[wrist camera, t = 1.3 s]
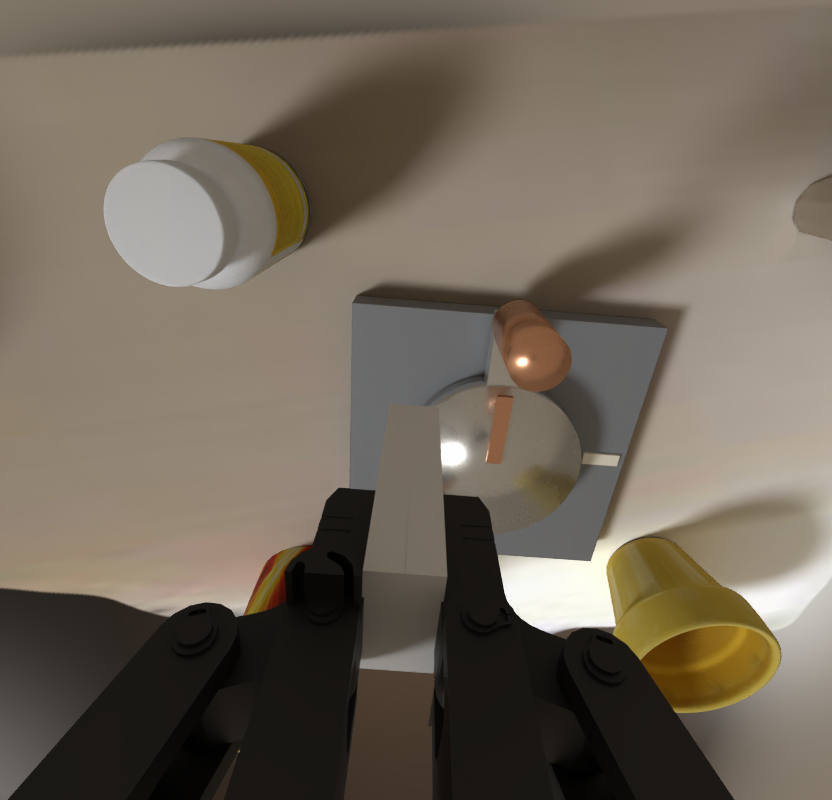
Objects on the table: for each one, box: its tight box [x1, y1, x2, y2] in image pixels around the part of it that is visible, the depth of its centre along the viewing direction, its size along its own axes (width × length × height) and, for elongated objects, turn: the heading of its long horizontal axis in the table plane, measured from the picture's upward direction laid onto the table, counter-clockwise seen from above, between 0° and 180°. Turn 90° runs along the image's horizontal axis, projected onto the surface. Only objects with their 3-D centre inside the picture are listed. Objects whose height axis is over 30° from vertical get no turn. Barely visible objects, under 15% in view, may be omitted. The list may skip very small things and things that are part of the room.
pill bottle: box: [104, 138, 311, 289], centre depth 23 cm, size 6×6×12 cm
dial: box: [423, 300, 581, 534], centre depth 28 cm, size 18×12×8 cm
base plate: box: [349, 295, 668, 561], centre depth 34 cm, size 20×20×2 cm
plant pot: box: [607, 537, 781, 713], centre depth 36 cm, size 10×10×10 cm
